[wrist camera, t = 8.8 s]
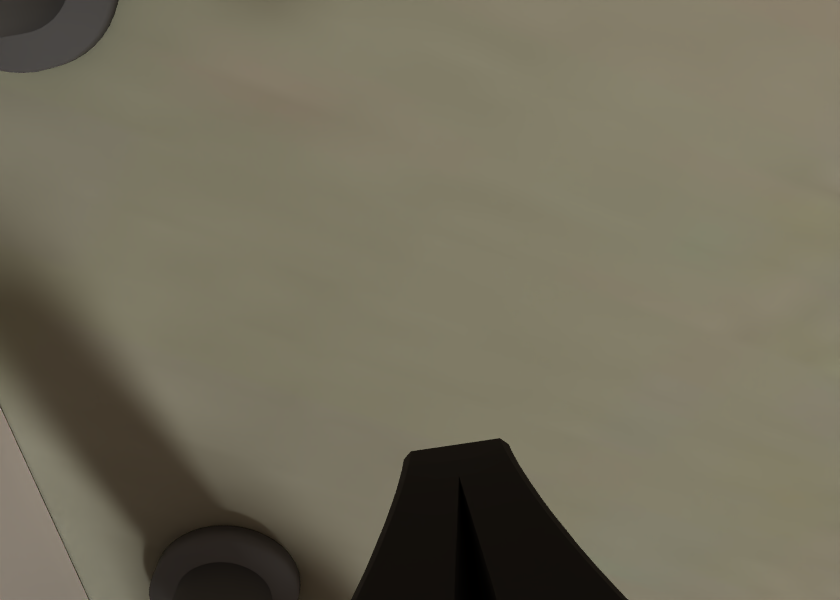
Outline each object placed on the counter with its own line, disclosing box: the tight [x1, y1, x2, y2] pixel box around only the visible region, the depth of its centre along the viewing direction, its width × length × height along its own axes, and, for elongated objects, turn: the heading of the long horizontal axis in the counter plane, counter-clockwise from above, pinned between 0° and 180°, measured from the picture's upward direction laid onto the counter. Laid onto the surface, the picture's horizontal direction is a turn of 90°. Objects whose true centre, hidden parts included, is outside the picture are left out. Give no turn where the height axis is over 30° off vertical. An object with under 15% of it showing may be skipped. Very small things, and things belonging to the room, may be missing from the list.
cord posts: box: [0, 0, 300, 600], centre depth 13 cm, size 4×20×9 cm, turn 9°
